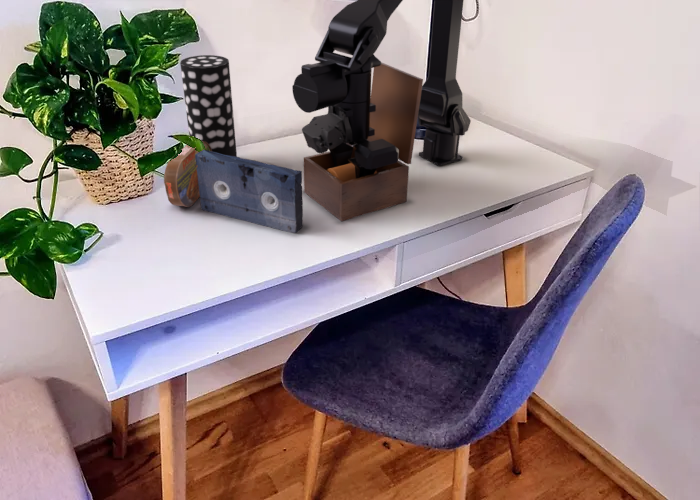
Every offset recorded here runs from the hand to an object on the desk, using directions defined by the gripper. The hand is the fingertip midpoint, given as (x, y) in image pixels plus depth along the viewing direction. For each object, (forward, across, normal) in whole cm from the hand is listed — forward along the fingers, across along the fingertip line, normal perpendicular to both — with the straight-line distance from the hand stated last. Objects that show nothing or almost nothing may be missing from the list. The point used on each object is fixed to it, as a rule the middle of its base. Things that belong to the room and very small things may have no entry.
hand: (351, 185), depth 108 cm
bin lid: (-12, 0, +8) cm, 14 cm away
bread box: (+2, 0, +1) cm, 3 cm away
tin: (+3, -16, -23) cm, 28 cm away
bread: (+1, 0, 0) cm, 1 cm away
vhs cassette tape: (+3, -2, -18) cm, 18 cm away
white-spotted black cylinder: (+3, -24, -15) cm, 29 cm away
